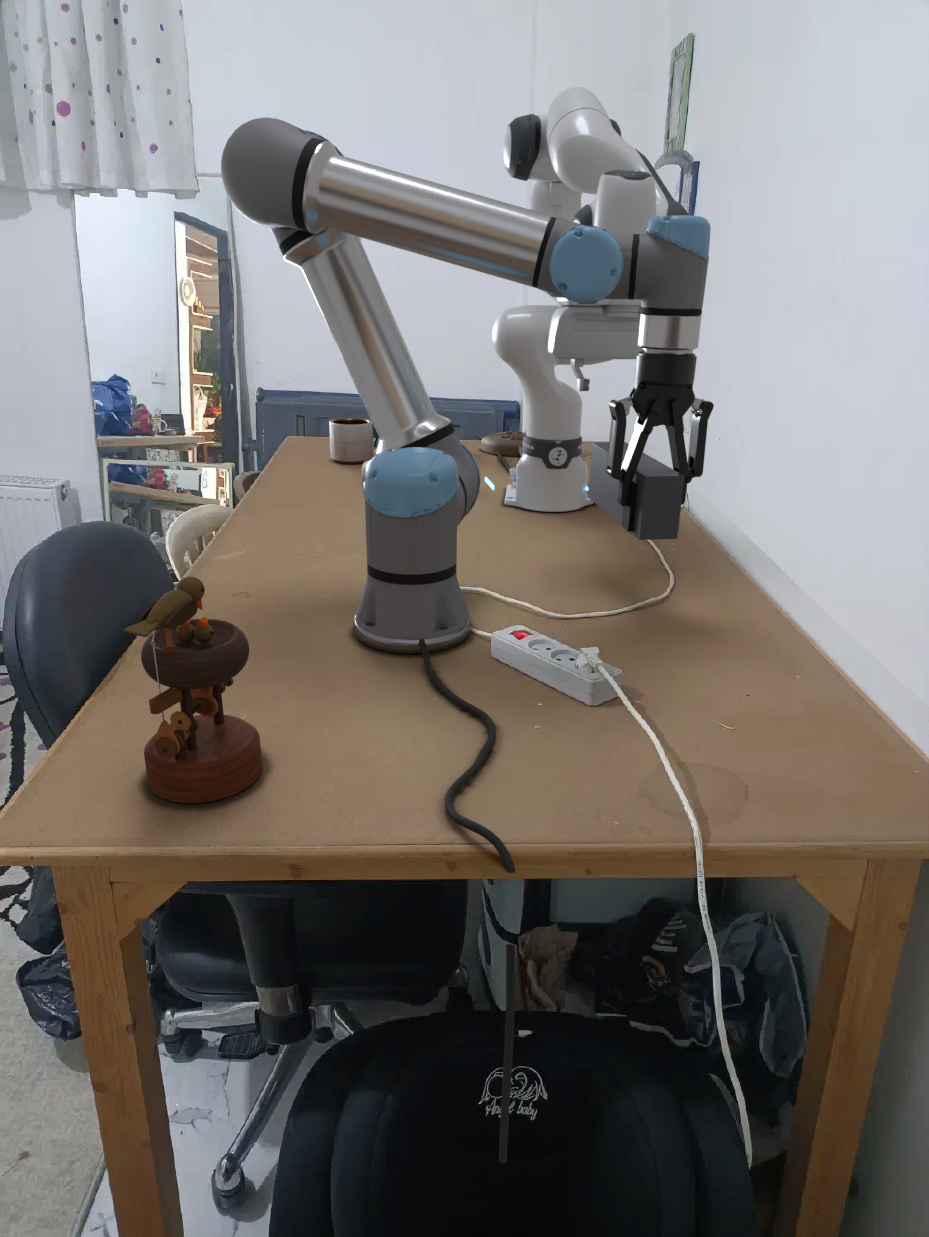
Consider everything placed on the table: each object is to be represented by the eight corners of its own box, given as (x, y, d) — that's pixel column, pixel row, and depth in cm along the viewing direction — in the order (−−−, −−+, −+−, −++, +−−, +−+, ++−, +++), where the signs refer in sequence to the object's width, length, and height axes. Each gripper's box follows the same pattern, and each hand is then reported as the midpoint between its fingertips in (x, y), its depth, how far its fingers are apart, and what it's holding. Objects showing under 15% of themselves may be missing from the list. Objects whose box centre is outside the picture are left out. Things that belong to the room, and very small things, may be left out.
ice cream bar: (486, 465, 210) (486, 448, 209) (479, 444, 236) (479, 428, 235) (570, 465, 211) (571, 449, 210) (554, 444, 237) (554, 429, 236)
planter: (327, 456, 217) (325, 418, 214) (369, 454, 220) (368, 417, 217) (334, 465, 208) (332, 425, 204) (377, 463, 211) (376, 424, 207)
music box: (239, 818, 74) (196, 604, 66) (121, 817, 75) (65, 608, 68) (291, 731, 88) (261, 546, 80) (191, 731, 89) (151, 550, 82)
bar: (677, 539, 113) (684, 475, 109) (639, 540, 112) (645, 476, 109) (620, 496, 134) (625, 442, 131) (588, 497, 133) (592, 442, 130)
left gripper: (722, 348, 112) (700, 519, 120) (588, 348, 109) (575, 522, 118) (748, 354, 105) (723, 534, 114) (606, 353, 102) (591, 538, 111)
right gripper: (678, 294, 128) (669, 388, 133) (547, 292, 125) (543, 389, 129) (695, 294, 122) (686, 392, 127) (558, 291, 119) (553, 393, 124)
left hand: (648, 527), depth 116 cm, fingers closed on bar, 5 cm apart
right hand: (612, 390), depth 128 cm, fingers open, 8 cm apart
